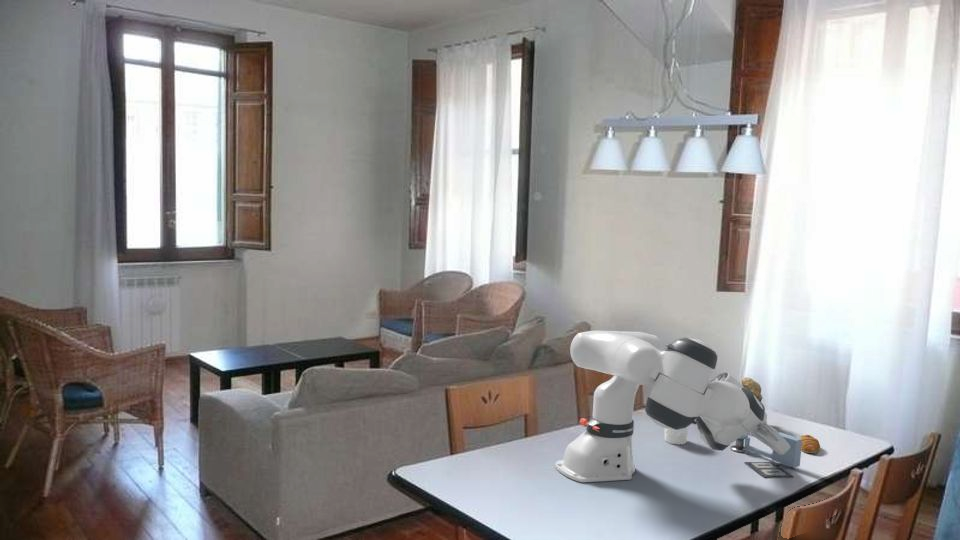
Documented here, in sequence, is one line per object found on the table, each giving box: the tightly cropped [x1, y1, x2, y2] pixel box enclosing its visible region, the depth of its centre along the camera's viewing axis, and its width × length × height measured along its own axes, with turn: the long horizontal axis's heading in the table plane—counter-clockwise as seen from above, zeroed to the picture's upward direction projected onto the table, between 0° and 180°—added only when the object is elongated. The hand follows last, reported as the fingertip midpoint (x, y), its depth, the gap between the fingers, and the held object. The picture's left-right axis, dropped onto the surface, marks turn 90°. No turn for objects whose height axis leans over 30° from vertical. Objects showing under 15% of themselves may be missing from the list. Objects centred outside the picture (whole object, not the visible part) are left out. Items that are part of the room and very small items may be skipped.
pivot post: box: [730, 439, 749, 454], centre depth 227 cm, size 5×5×4 cm
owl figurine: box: [741, 376, 763, 402], centre depth 252 cm, size 18×12×17 cm, turn 120°
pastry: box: [798, 434, 821, 455], centre depth 231 cm, size 9×7×4 cm
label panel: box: [743, 461, 794, 479], centre depth 211 cm, size 9×11×1 cm
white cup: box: [663, 425, 690, 445], centre depth 233 cm, size 8×8×10 cm
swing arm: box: [739, 431, 802, 469], centre depth 220 cm, size 21×4×8 cm, turn 36°
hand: (778, 451), depth 214 cm, fingers closed
